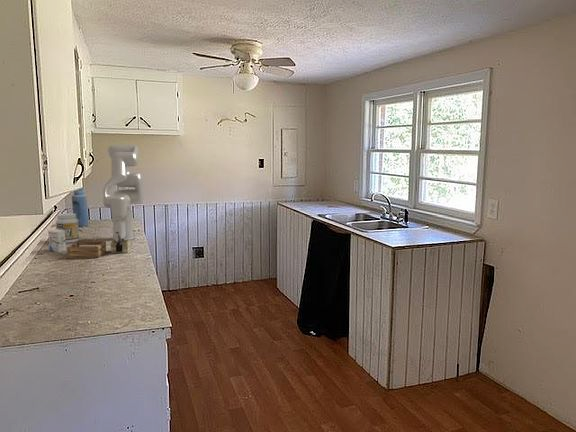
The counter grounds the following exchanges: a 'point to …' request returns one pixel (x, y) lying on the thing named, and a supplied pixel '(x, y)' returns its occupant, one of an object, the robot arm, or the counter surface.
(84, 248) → the crate
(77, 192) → the bottle
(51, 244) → the ink box
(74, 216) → the supplement tub
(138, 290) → the counter surface
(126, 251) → the small crate
